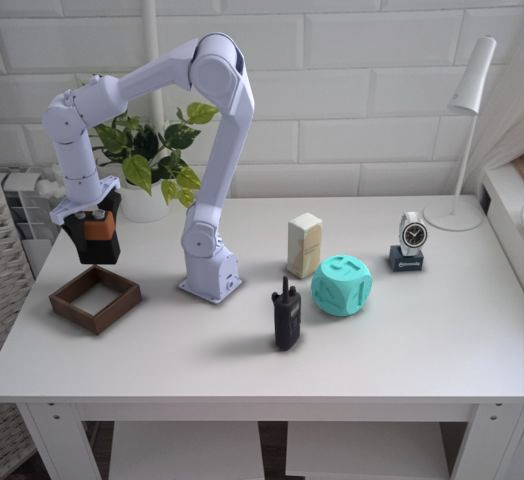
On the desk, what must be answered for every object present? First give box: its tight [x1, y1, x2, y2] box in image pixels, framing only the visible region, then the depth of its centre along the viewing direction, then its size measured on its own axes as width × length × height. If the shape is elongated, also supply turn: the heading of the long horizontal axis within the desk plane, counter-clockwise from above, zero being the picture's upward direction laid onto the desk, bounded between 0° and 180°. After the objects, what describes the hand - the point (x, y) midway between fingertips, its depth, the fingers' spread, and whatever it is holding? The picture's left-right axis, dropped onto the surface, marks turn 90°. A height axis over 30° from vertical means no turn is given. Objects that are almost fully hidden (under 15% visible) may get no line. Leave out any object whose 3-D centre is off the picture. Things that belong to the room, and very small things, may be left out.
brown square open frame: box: [47, 265, 144, 336], centre depth 114 cm, size 12×12×4 cm
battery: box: [75, 208, 121, 266], centre depth 112 cm, size 4×7×10 cm, turn 87°
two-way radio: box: [270, 275, 302, 351], centre depth 102 cm, size 6×4×15 cm
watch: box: [388, 211, 430, 273], centre depth 118 cm, size 6×8×11 cm
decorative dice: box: [310, 254, 373, 317], centre depth 111 cm, size 8×8×8 cm
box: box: [286, 211, 323, 279], centre depth 118 cm, size 5×4×11 cm
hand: (96, 239), depth 113 cm, fingers closed on battery, 6 cm apart
